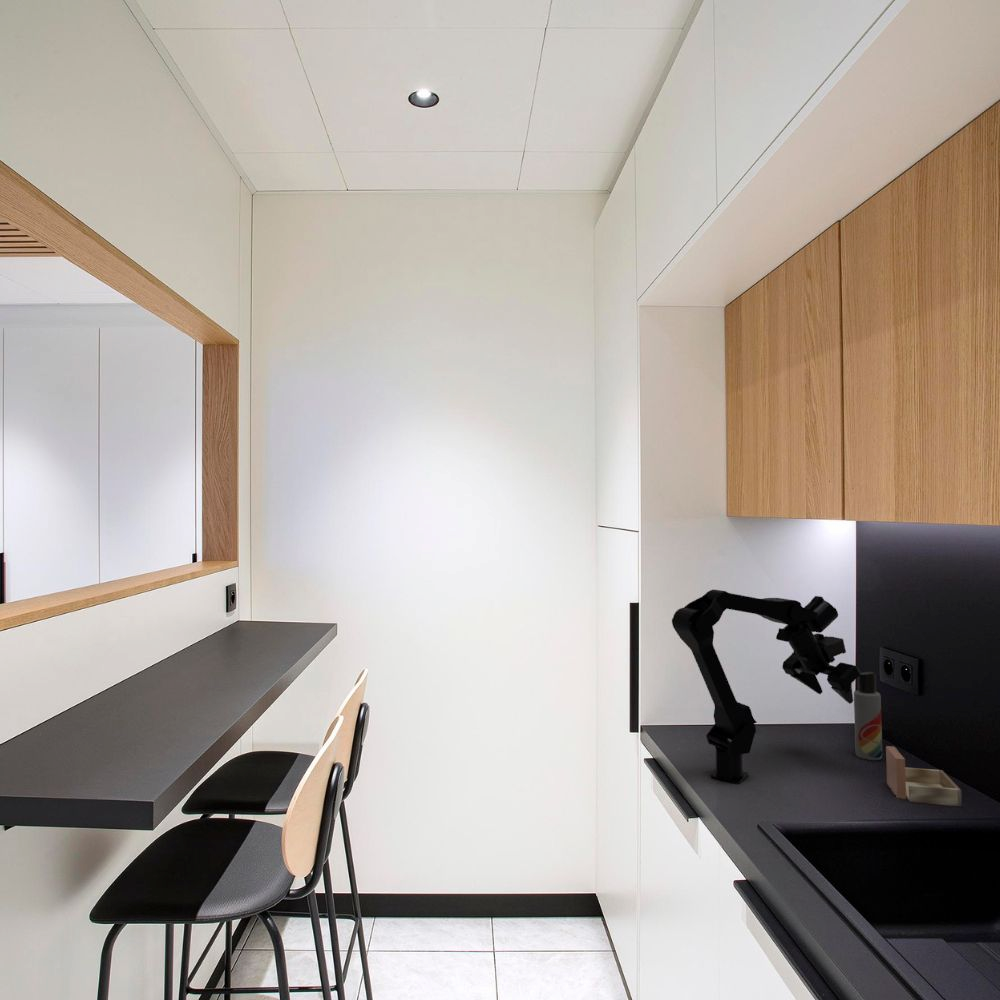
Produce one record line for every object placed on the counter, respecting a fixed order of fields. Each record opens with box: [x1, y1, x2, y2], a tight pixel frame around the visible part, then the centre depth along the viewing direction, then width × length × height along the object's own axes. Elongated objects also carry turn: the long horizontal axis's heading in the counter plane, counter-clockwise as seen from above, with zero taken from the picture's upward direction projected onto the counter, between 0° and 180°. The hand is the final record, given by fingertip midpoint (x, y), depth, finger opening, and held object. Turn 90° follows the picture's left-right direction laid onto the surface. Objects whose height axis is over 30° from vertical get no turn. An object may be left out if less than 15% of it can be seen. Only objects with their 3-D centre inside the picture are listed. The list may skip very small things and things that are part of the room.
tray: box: [905, 766, 963, 807], centre depth 143 cm, size 9×11×3 cm
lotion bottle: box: [853, 671, 883, 761], centre depth 165 cm, size 6×6×20 cm
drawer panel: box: [885, 745, 907, 800], centre depth 144 cm, size 2×8×8 cm, turn 164°
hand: (835, 697), depth 163 cm, fingers open, 9 cm apart
